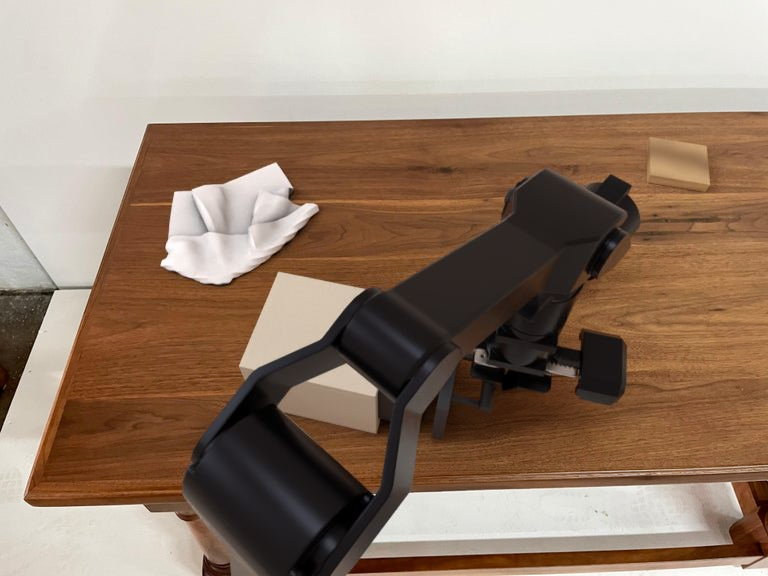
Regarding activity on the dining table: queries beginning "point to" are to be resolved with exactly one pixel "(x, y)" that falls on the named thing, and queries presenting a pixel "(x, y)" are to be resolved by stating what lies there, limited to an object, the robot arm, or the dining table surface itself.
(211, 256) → the cloth
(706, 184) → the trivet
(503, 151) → the dining table surface
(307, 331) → the beige box
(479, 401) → the drawer
